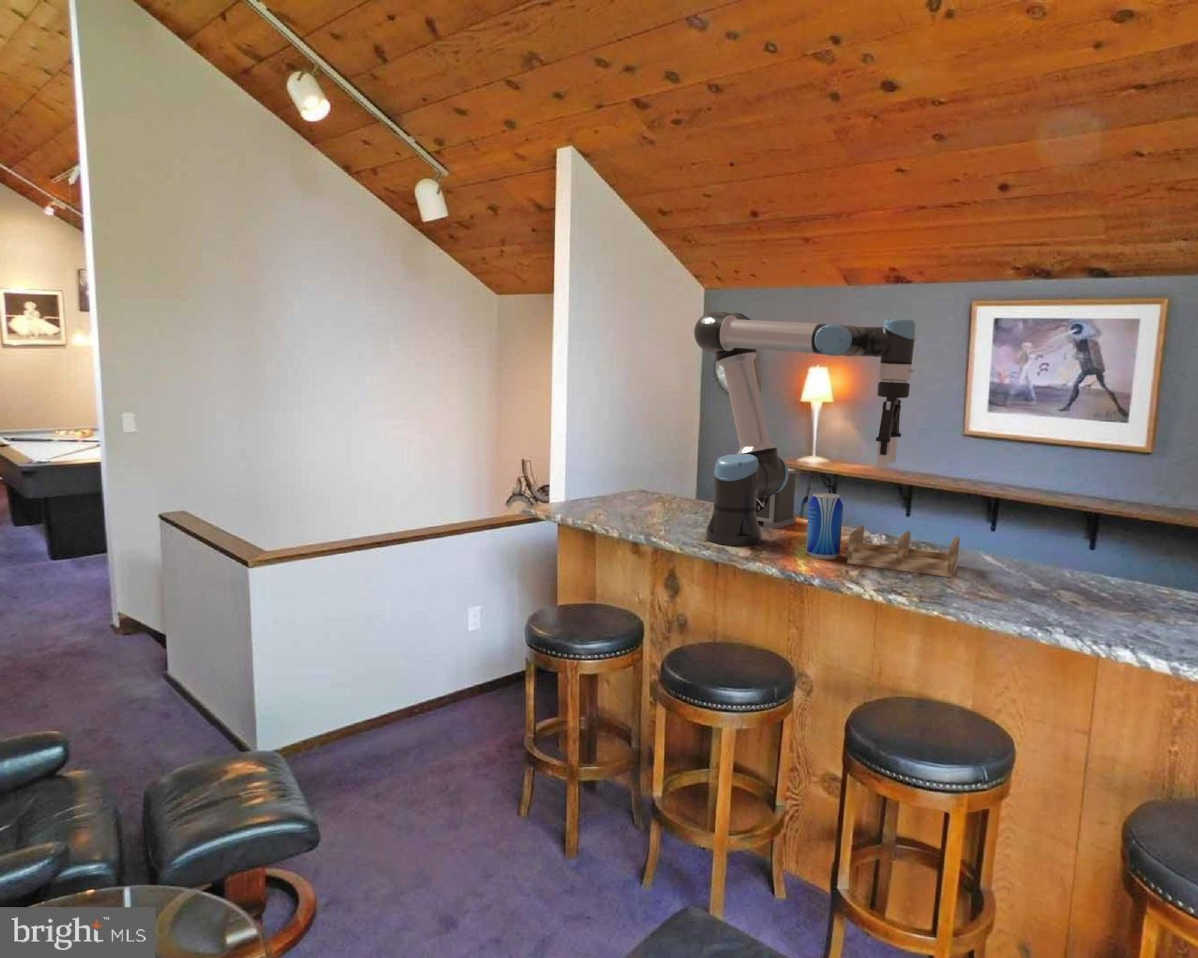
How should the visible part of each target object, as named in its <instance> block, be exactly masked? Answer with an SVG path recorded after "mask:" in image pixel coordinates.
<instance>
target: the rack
mask: <svg viewBox="0 0 1198 958" xmlns="http://www.w3.org/2000/svg"><path fill="white" fill-rule="evenodd" d="M864 531H865V526H864V525H859V526H858V527H857V528H855V529H854V530H853V531H852V532H851V533H850V534H848V545H847V546H848V548H847V560H846V561H847V562H846V564H852V565H858V566H860V565H861V566H865V567H866V566H867V567H874V568H881V569H889V570H896V571H901V572H903V571H904V572H911V573H917V574H926V575H932V576H941V577H947V578H952V577H953V575H954V573H955V571H956V570H957V567H958V561H959V549H960V540H961V537H960V536H955V537H954V538H953V540H952V541H951V544H950V545H949V549H948V550H949V551H948V552H940V551H934V550H924V549H917V548H910V546H911V545H910V544H911V531H908V530H906V531H905V532H904V533H903V534H902V535H901V536H900V537H899V539H898V540H897V546H893V545H885V544H877V543H868V542H864V534H865V533H864Z"/></svg>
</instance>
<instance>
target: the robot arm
mask: <svg viewBox="0 0 1198 958" xmlns="http://www.w3.org/2000/svg"><path fill="white" fill-rule="evenodd" d="M693 335H694V338H695V339H694V340H695V341H696V344H697V345H698V347H700V349H702V350H703V351H705V352H707V353H710V354H715V358H716V359H715V360H716V364H717V365H718V366H720V367H722V368H723V371H724V376H725V380H726V385H727V391H728V395H729V400H730V405H731V410H732V414H733V421H734V425H735V430H736V435H737V438H738V439H737V440H738V443H739V450H738V452H737V453H734V454H726V455H722V456H720V457H719V458H718V459H717V460H716V462H715V466H714V467H715V468H714V471H713V475H714V484H713V487H714V489H713V508H712V509H713V510H712V511H713V512H712V514H711V517H710V519H709V522H708V525H707V528H706V530H705V531H706V532H705V539H706V540H707V541H708V542H712V543H714V544H718V545H725V546H751V545H756V544H757V545H758V544H759V543H761V541H762V532H761V527H760V525H759V521H758V520H757V516H756V499H757V498H761V497H768V496H772V495H774V494H776V493H778V492H780V491H781V490H782V489H783V488H784V486H785V485H786V483H787V481H788V476H789V471H788V469H789V467H788V464H787V463H786V461H785V460H784V459H783V458H782V457H781V456H780V455H779V453H778V449H777V446H776V445H774V444H773V443H771V441H770V437H769V432H768V427H767V422H766V419H765V418H766V417H765V413H764V408H763V404H762V399H761V394H760V389H759V385H758V380H757V379H758V378H757V375H756V370H755V369H756V368H755V365H754V360H755V359H756V357H757V355H758V353H757V350H762V351H773V352H774V351H775V352H788V353H803V354H813V355H814V354H816V355H826V356H831V357H832V356H833V357H834V356H835V357H837V356H844V357H845V356H846V357H874V358H880V362H879V363H880V364H879V371H878V379H879V380H880V381H879V382H878V383H877V393H876V395H877V396H878V397H881V398H886V400H884V401H883V403H882V411H881V412H882V413H881V418H880V425H879V431H878V436H876V437H875V442H878V447H877V457H876V459H877V460H876V468H877V469H878V468H880V469H889V463H896V460H897V459H896V457H897V449H898V448H897V447H898V438H901V436H902V432H900V416H901V409H902V401H901V399H904V398H905V399H907V398H909V396H910V387H911V385H910V383H908V382H909V381H910V380H911V376H912V373H914V372H915V370H914V368H912V365H913V356H914V349H915V347H914V346H915V340H916V336H915V335H916V323H915V321H914V320H913V319H908V318H907V319H906V318H904V319H903V318H887V319H885V320H884V322H883V325H882V326H876V327H875V326H857V325H846V324H845V325H844V324H839V323H817V322H816V323H815V322H814V323H812V322H797V321H795V322H793V321H779V320H778V321H777V320H776V321H775V320H774V321H773V320H759V319H757V320H756V319H753V318H752V317H750V316H748V315H745V314H743V313H741V312H726V311H719V310H717V311H716V310H715V311H709V312H706V313H704V314H703V315H702V316H701V317H699V318H698V320H697V321H696V324H695V326H694V329H693Z"/></svg>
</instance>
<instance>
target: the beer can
mask: <svg viewBox="0 0 1198 958" xmlns="http://www.w3.org/2000/svg"><path fill="white" fill-rule="evenodd" d="M840 497H841V496H840V495H839V494H836V493H829V492H815V493H813V494H812V498H811V499H810V501H809V502H808V513H807V514H808V515H807V530H806V544H805V545H806V546H805V550H806V552H807V554H808V556H809V557H810V558H813V559H816V560H817V559H818V560H835V559H837V558H838V556H839V555H840V554H841V542H842V529H843V528H842V524H843V513H844V512H843V510H844V504H843V502H842V500H841V498H840Z"/></svg>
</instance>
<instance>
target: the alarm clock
mask: <svg viewBox="0 0 1198 958" xmlns="http://www.w3.org/2000/svg"><path fill="white" fill-rule="evenodd" d="M788 471H789V476H788V481H787V483H786V485H785V486H784V488H783V489H782V490H781V491H780V492H778V493H776V494H774V495H772V496H768V497H761V498H757V499H756V516H757V520H758V522H759V521H760V522H763V524H762V526H763V527H764V528H770V529H779V528H783V527H786V526H790V525H793V524H796V521H797V518H796V516H794V510H795V509H794V508H795V492H796V469H795V468H788Z"/></svg>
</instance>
